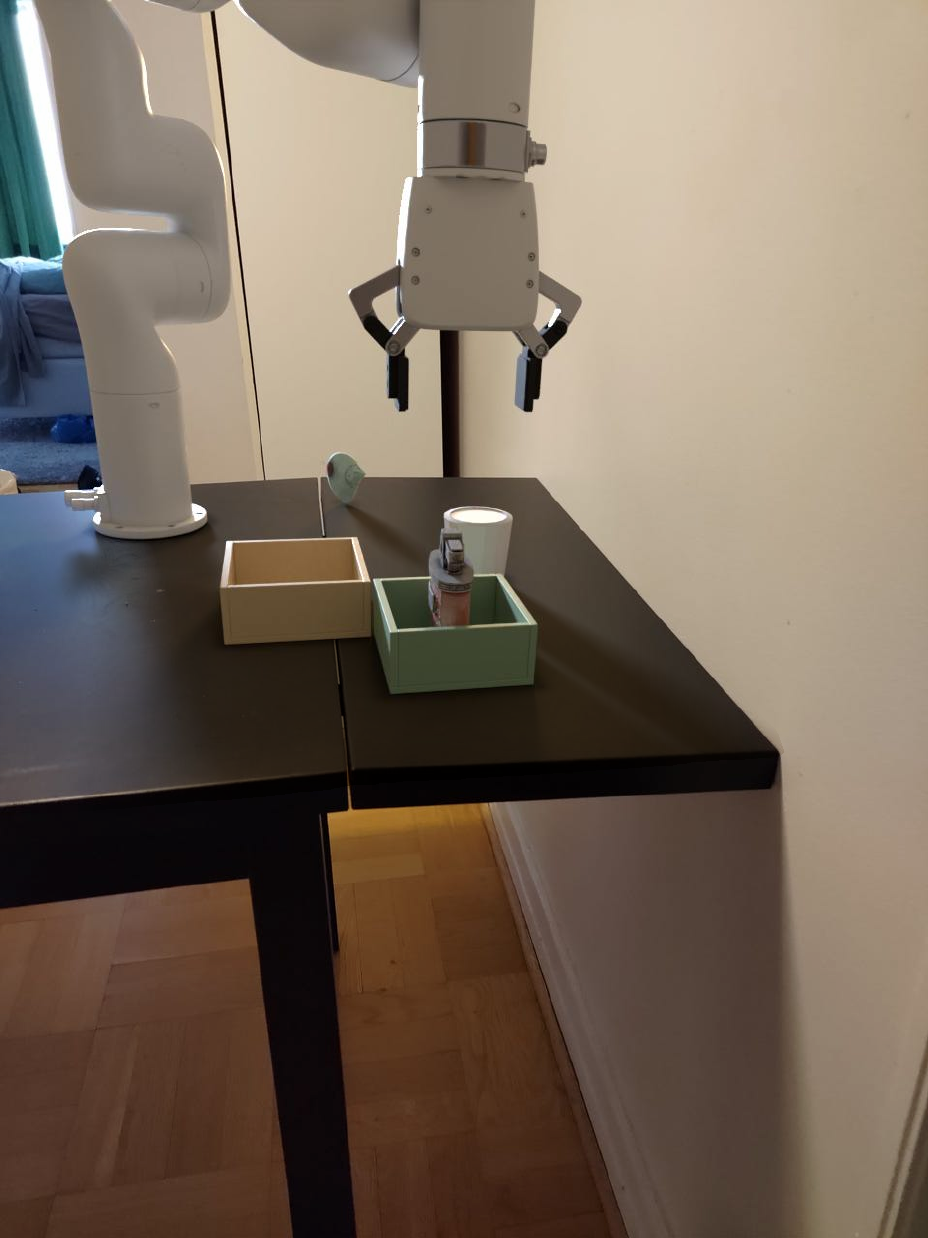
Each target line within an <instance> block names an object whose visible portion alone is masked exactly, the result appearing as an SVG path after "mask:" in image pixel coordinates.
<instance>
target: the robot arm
mask: <svg viewBox="0 0 928 1238" xmlns="http://www.w3.org/2000/svg"><path fill="white" fill-rule="evenodd" d="M33 1H34V5H35V8H36V11H37V14H38V17H39V19H40V22H41V25H42V28H43V29H42V30H43V32H44V36H45V39H46V42H47V47H48V52H49V58H50V63H51V73H52V79H53V80H52V81H53V89H54V95H55V96H54V97H55V103H56V111H57V117H58V119H57V120H58V125H59V133H60V139H61V147H62V154H63V160H64V166H65V172H66V176H67V180H68V181H67V182H68V183H69V186H70V189H71V192H72V193H73V194H74V197H75V198H76V199H77V200H78V201H79V203H81V204H82V205H83V206H84V207H86V208H89V209H91V210H94V211H96V212H102V213H108V214H114V215H125V216H126V215H127V216H140V217H157V218H164V219H165V224H166V230H167V231H163V230H162V231H161V230H149V229H136V228H135V229H133V228H114V227H113V228H97V229H92V230H87V231H84V232H82V233H79V234H77V235H76V236H74V237H73V238H72V239H71V240H70V241H69V243H68V244H67V245H66V247H65V249H64V251H63V254H62V259H61V271H62V277H63V282H64V283H63V284H64V286H65V290H66V294H67V297H68V299H69V302H70V305H71V308H72V311H73V314H74V319H75V321H76V325H77V329H78V333H79V336H80V342H81V346H82V352H83V356H84V362H85V370H86V374H87V375H86V377H87V384H88V389H89V395H90V396H89V397H90V403H91V404H90V405H91V410H92V416H93V425H94V432H95V433H94V434H95V439H96V446H97V453H98V454H97V455H98V462H99V468H100V475H101V482H102V485H101V486H100V487H94V488H93V491H92V490H91V491H89V490H88V491H83V490H65V491H64V494H63V499H64V505H65V508H69V509H70V508H71V510H72V511H73V512H85V511H94V512H95V515H94V516H93V517H92V524H93V529H94V530H95V531H96V532H97V533H99V534H101V535H103V536H107V537H109V538H117V539H125V540H154V539H155V540H156V539H163V538H164V539H165V538H171V537H176V536H177V537H178V536H180V535H185V534H189V533H192V532H194V531H197V530H199V529H201V528H202V527H204V525H206V524H207V522H208V514H207V512H208V511H207V510H206V509H205V508H204V507H202V506H201V505H198V504H196V503H193V498H192V491H191V489H192V488H191V480H190V479H191V478H190V468H189V467H190V466H189V457H188V446H187V437H186V428H185V427H186V426H185V417H184V416H185V415H184V405H183V396H182V385H181V384H182V383H181V376H180V370H179V366H178V364H177V362H176V361H177V360H176V359H175V357H174V355H173V353H172V352H171V350H170V349H169V348H168V346H167V344H166V343H165V342H164V341H163V338H161V336H160V334H159V333H158V331H157V329H156V328H155V327H161V326H172V325H175V326H177V325H193V324H195V325H196V324H205V323H210V322H213V321H216V320H217V319H219V318H220V317H221V316H223V314H224V313H225V311H226V309H227V308H228V305H229V302H230V299H231V294H232V262H231V246H230V245H231V244H230V230H229V213H228V199H227V186H226V185H227V184H226V175H225V169H224V166H223V162H222V158H221V156H220V153H219V151H218V149H217V147H216V145H215V143H214V141H213V140H212V138H211V136H210V135H209V134H208V133H207V132H206V131H205V130H204V129H203V128H202V127H201V126H199V125H197V124H196V123H194V122H191V121H188V120H186V119H183V118H178V117H172V116H165V115H159V114H155V113H154V112H153V110H152V108H151V105H150V100H149V91H148V78H147V77H148V76H147V69H146V63H145V59H144V55H143V53H142V50H141V47H140V45H139V44H138V43H139V42H138V40H137V39H136V37H135V35H134V33H133V30H132V29H131V27H130V26H129V24H128V22H127V20H126V18H125V17H124V16H123V15H122V13H121V12H120V10H119V9H118V7H117V6H116V4H115V3H114V2H113V0H33ZM144 1H146V2H149V3H151V4H152V3H153V4H156V5H160V6H164V7H168V8H172V9H175V10H179V11H182V12H188V13H192V14H193V13H194V14H205V13H210V12H214V11H216V10H218V9H220V8H222V7H223V6H225V5H227V4H228V3H229V2H231V1H232V0H144ZM233 1H234V3H235V4H236V6H237V7H238V9H239V10H240V11H241V12H242V13H243V14H244V15H245V16H246V17H247V18H248V19H250V21H252V22H253V23H254V24H255V25H257V26H258V27H259V28H261V29H262V30H263V31H264V32H266V33H267V34H268V35H269V36H271V37H272V38H273V39H274V40H276V41H277V42H278V43H280V45H282V46H284V47H285V48H286V49H288V50H289V51H290V52H292V53H294V54H295V55H296V56H298V57H300V58H301V59H304V60H306V61H308V62H310V63H312V64H314V65H317V66H320V67H324V68H327V69H331V70H335V71H339V72H343V73H344V72H345V73H348V74H353V75H357V76H361V77H366V78H369V79H373V80H376V81H380V82H384V83H387V84H392V85H396V86H398V87H399V86H400V87H404V88H410V89H418V102H417V105H418V107H417V108H418V109H417V110H418V111H417V129H418V130H417V176H411V177H407V178H406V179H405V183H404V189H403V193H402V200H401V207H400V212H399V213H400V215H399V224H398V235H397V250H396V252H397V253H396V264H395V265H393V266H391V267H390V268H387V269H386V270H383V271H382V272H381V273H378V274H376V275H375V276H372V277H370V278H369V279H367V280H364V281H362V282H361V283H359V284H357V285H355V286H353V287H351V288H350V289H349V291H348V293H347V297H348V299H349V301H350V303H351V305H352V307H353V309H354V311H355V313H356V315H357V317H358V319H359V321H360V323H361V326H362V327H363V329H364V330H365V332H367V333H368V334H369V335H370V337H371V338H372V339H373V340H374V341H375V342H376V343H377V344H378V345H379V346H380V348H382V349H383V351H385V353H386V355H385V356H386V363H385V364H386V371H385V372H386V374H385V375H386V377H385V378H386V383H385V385H386V398H387V399H388V400H390V399H394V401H393V402H394V407H395V408H396V410H397V411H398V412H399V413H403V412H404V413H405V412H407V411H408V410H409V403H410V402H409V401H410V400H409V396H410V394H409V393H410V391H409V390H410V388H409V386H410V385H409V384H410V383H409V382H410V358H409V357H408V356H407V355H406V347H407V346H408V344H409V343H410V342H411V341H412V340H413V338H414V337H415V336H416V335H417V333H418V332H419V331H420V330H421V329H422V330H430V331H460V332H461V331H463V332H464V331H466V332H511V333H512V334H513V335H514V337H515V339H516V340H517V341H518V342H519V344H520V345H521V347H522V349H521V350H522V351H521V353H519V355H518V356H517V358H516V368H515V369H516V370H515V386H514V387H515V388H514V405H515V407H517V408H519V409H520V410H521V411H523V412H524V413H533V411H534V401H535V400H536V401H537V400H539V399H540V396H541V387H542V384H541V383H542V371H543V360H544V359H545V358H546V357H547V356H548V355H549V352H550V351H551V349H553V348H554V347H555V345H556V344H558V343H559V342H560V341H561V340H562V339H563V338H564V337H565V336H566V335H567V334H568V328H569V327H570V325H571V324H572V322H573V321H574V319H575V317H576V315H577V313H578V312H579V310H580V308H581V306H582V303H583V301H582V298H581V296H580V295H579V294H577V293H575V292H574V291H572V290H571V289H569V288H568V287H566V286H564V285H562V284H561V283H560V282H558V281H556V280H555V279H554V278H552V277H550V276H548V275H547V274H545V273H544V272H543V271H540V247H539V225H538V223H539V222H538V212H537V202H536V193H535V186H534V182H531V181H525V180H526V174H528V173H529V170H530V169H531V168H534V167H535V166H545V164H546V162H547V157H548V156H547V155H548V149H547V148H548V147H547V144H546V143H537V141H535V140H533V139H532V137H531V130H528V129H529V118H530V101H531V100H530V99H531V83H532V81H531V80H532V63H533V49H534V48H533V47H534V28H535V15H536V14H535V12H536V0H233ZM393 289H395V309H396V313H397V316H398V320H397V321H396V322H395V324H394V325H393V326H392V327H391V329H390V330H389V329H388V328H387V327H386V326H385V324H383V322H382V321H381V320H380V318H379V317H378V315H377V313H376V311H375V308H374V307H373V302H374V300H375V299H376V298H378V297H379V296H381V295H383V294H385V293H387V292H389V291H391V290H393ZM539 294H540V295H542V296H543V297H545V299H546V298H547V299H548V300H550V301H551V302H553V303H554V305H555V310H554V311H553V312H554V313H553V315H552V317H551V319H550V320H549V321H548V322H547V323H546V324H544V325H543V326H542V328H541V329H540V330H538V329H537V328H536V326H535V325H534V323H535V321H536V319H537V315H538V314H537V313H538V307H539Z"/></svg>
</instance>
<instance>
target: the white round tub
mask: <svg viewBox="0 0 928 1238" xmlns="http://www.w3.org/2000/svg"><path fill="white" fill-rule="evenodd" d="M513 520H514V519H513V515H512V514H511V513H510V512H508V511H505V510H503V509H499V508H494V507H488V506H460V507H455V508H450V509H449V510H447V511H445V512H444V513H443V521H444V522H443V524H444V528H454V529H456V531H457V532H462V540H463V543H464V554H465V555H466V556H467V557H468V558H469V560H470V562H471V563H472V565H473V570H474V575H478V574H502V575H503V576H504V577H505V573H506V567H507V561H508V559H507V558H508V554H509V546H510V542H511V541H510V540H511V533H512V527H513Z"/></svg>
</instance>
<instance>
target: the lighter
mask: <svg viewBox="0 0 928 1238" xmlns="http://www.w3.org/2000/svg"><path fill="white" fill-rule="evenodd" d="M428 572H429V577H430V576H431V580H430V581H429V606H430V608H431V618H430V627H449V626H467V625H469V618H470V591H471V589H472V588H473V580H474V570H473V565H472V563H471V562H470V560H469V558H468V557H467V556H466V555H465V554H464V543H463V540H462V532H457V531H456V529H454V528H445V527H444V528H441V530H440V537H439V548H437V549H434V550H431V551H430V554H429V557H428ZM430 627H429V628H430Z"/></svg>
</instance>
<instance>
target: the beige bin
mask: <svg viewBox="0 0 928 1238" xmlns="http://www.w3.org/2000/svg"><path fill="white" fill-rule="evenodd" d="M223 556H224V557H223V564H222V570H221V576H220V577H221V578H220V585H219V595H220V607H221V620H222V631H223V642H224V645H225V646H226V645H227V646H229V645H246V644H248V645H249V644H264V643H281V642H282V643H283V642H299V641H300V642H302V641H319V640H320V641H321V640H336V639H337V640H338V639H356V638H357V639H358V638H371V637H372V594H371V593H372V591H371V589H372V587H371V586H372V585H371V578H370V575H369V572H368V569H367V565H366V562H365V559H364V555H363V552H362V549H361V546H360V543H359V539H358V537H357V536H352V537H351V536H349V537H348V536H347V537H319V538H318V537H316V538H287V539H285V538H284V539H283V538H282V539H254V540H253V539H252V540H227V541H226V543H225V549H224V555H223Z"/></svg>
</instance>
